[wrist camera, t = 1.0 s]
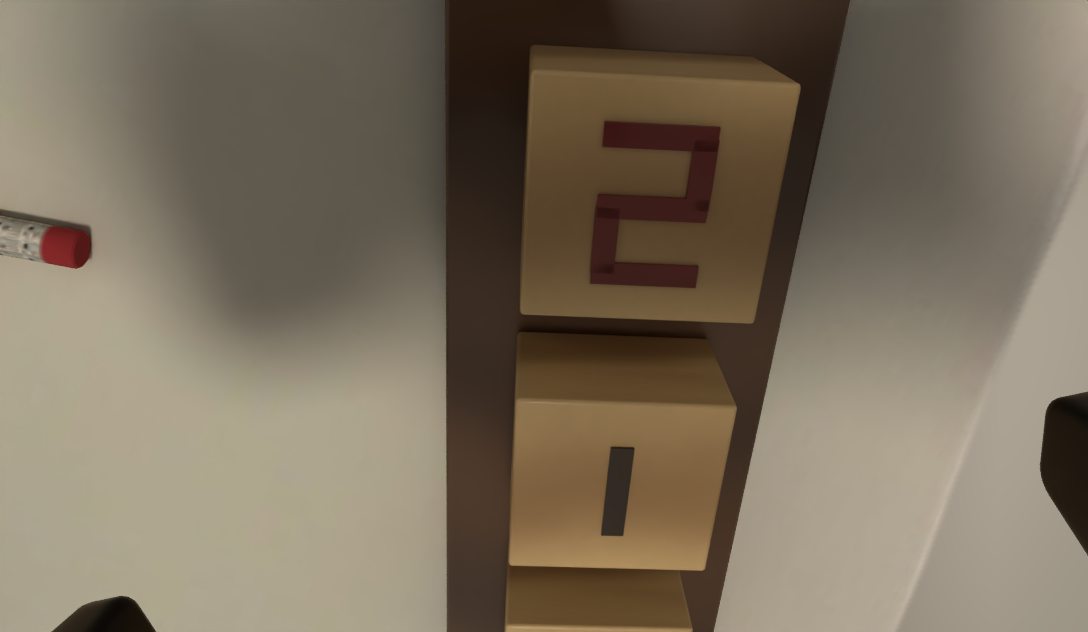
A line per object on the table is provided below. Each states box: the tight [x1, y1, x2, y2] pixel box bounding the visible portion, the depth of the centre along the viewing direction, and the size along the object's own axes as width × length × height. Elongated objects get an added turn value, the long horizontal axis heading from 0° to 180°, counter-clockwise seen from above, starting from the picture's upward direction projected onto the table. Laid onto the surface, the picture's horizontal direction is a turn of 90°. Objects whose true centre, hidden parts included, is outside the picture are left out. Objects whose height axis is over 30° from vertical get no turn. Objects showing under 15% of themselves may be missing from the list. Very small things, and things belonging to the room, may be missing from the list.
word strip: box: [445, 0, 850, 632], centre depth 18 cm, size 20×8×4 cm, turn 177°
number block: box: [520, 45, 801, 324], centre depth 15 cm, size 5×5×3 cm
